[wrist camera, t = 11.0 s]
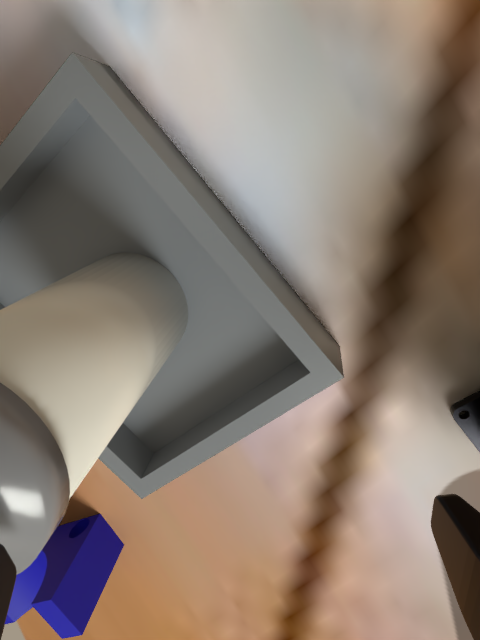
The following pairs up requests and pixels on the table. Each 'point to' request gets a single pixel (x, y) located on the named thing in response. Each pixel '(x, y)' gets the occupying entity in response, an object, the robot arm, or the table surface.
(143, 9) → the table surface
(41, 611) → the cable clip
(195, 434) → the charcoal tray
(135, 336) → the grey round glossy part
